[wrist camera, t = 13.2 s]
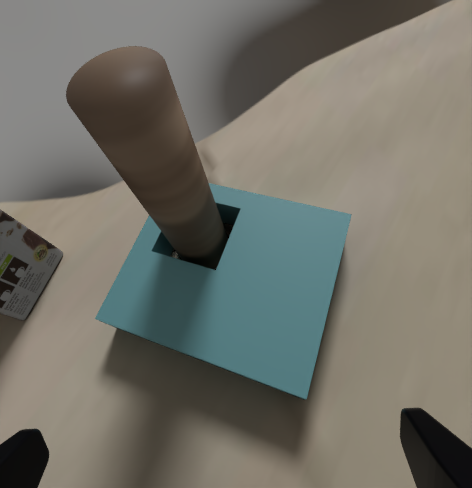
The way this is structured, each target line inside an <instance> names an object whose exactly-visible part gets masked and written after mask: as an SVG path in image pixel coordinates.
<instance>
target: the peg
mask: <svg viewBox="0 0 472 488" xmlns="http://www.w3.org/2000/svg"><path fill="white" fill-rule="evenodd" d="M66 97H67V102H68V104H69V106H70V107H71V109H72V110H73V111H74V113H75V114H76V115H77V117H78V118H79V120H80V121H81V122H82V124H83V125H84V126H85V128H86V129H87V131H88V132H89V133H90V135H91V136H92V137H93V139H94V140H95V141H96V143H97V144H98V146H99V147H100V148H101V150H102V151H103V152H104V154H105V155H106V156H107V158H108V159H109V161H110V162H111V163H112V164H113V166H114V167H115V168H116V170H117V171H118V173H119V174H120V176H121V177H122V178H123V180H124V181H125V182H126V184H127V185H128V186H129V188H130V189H131V191H132V192H133V193H134V195H135V196H136V197H137V199H138V200H139V201H140V203H141V204H142V206H143V207H144V208H145V210H146V211H147V212H148V214H149V215H150V217H151V218H152V219H153V221H154V222H155V223H156V225H157V226H158V227H159V229H160V230H161V232H162V233H163V234H164V236H165V237H166V238H167V240H168V241H169V242H170V244H171V245H172V247H173V248H174V249H175V251H176V252H177V253H178V255H179V256H180V257H181V259H182V260H183V261H186V262H189V263H193V264H196V265H200V266H203V267H206V268H210V269H214V268H216V267H217V266H218V264H219V261H220V259H221V257H222V254H223V252H224V249H225V247H226V244H227V242H228V237H227V234H226V231H225V228H224V225H223V223H222V220H221V217H220V214H219V211H218V209H217V206H216V203H215V200H214V197H213V194H212V192H211V189H210V186H209V183H208V180H207V177H206V175H205V172H204V169H203V166H202V163H201V160H200V158H199V155H198V152H197V149H196V146H195V144H194V141H193V138H192V135H191V132H190V130H189V127H188V124H187V121H186V118H185V115H184V112H183V110H182V107H181V104H180V101H179V98H178V96H177V93H176V90H175V87H174V84H173V82H172V79H171V76H170V73H169V70H168V68H167V65H166V62H165V60H164V59H163V57H162V56H161V55H160V54H159V53H158V52H156V51H154V50H152V49H149V48H146V47H137V46H129V47H122V48H117V49H113V50H110V51H107V52H105V53H102V54H100V55H98V56H96V57H95V58H93V59H91V60H90V61H89V62H87V63H86V64H84V65H83V66H82V67H81V68H80V69H79V70H78V71H77V72H76V73H75V74H74V76H73V77H72V79H71V80H70V82H69V84H68V87H67V91H66Z"/></svg>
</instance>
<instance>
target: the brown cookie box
mask: <svg viewBox="0 0 472 488" xmlns="http://www.w3.org/2000/svg"><path fill="white" fill-rule="evenodd" d="M62 256H63V252H62V251H61V250H60V249H58V248H57V247H55V246H54V245H52V244H51V243H49V242H48V241H46V240H45V239H43V238H42V237H40V236H39V235H37V234H36V233H34V232H33V231H31V230H30V229H28V228H27V227H26V226H24V225H23V224H21V223H20V222H18V221H17V220H15V219H14V218H12V217H11V216H9V215H8V214H6V213H5V212H3V211H2V210H0V313H1V314H4V315H7V316H10V317H13V318H16V319H20V320H24V319H26V317H27V316H28V314H29V312H30V310H31V309H32V307H33V305H34V304H35V302H36V300H37V298H38V297H39V295H40V293H41V292H42V290H43V288H44V287H45V285H46V283H47V281H48V280H49V278H50V276H51V275H52V273H53V271H54V269H55V268H56V266H57V264H58V263H59V261H60V259H61V257H62Z"/></svg>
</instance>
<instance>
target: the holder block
mask: <svg viewBox="0 0 472 488" xmlns="http://www.w3.org/2000/svg"><path fill="white" fill-rule="evenodd" d="M209 186H210V189H211V192H212V194H213V197H214V200H215V203H216V206H217V209H218V211H219V214H220V217H221V220H222V222H223V223H227V224H230V225H234V227H233V229H232V232H231V234H230V237H229V239H228V242H227V244H226V247H225V249H224V252H223V254H222V257H221V259H220V261H219V264H218V266H217V269H216V270H213V269H210V268H206V267H203V266H200V265H196V264H193V263H189V262H186V261H183V260H179V259H176V258H173V257H170V256H171V254H172V252H173V250H174V248H173V247H172V245H171V244H170V242H169V241H168V240H167V238H166V237H165V236H164V234H163V233H162V232H161V230H160V229H159V227H158V226H157V225H156V223H155V222H154V221H153V219H152V218H151V217H150V215H149V217H148V219H147V221H146V222H145V224H144V226H143V228H142V230H141V232H140V234H139V236H138V238H137V240H136V242H135V243H134V245H133V247H132V249H131V251H130V253H129V255H128V257H127V259H126V261H125V262H124V264H123V266H122V268H121V270H120V272H119V274H118V276H117V278H116V280H115V281H114V283H113V285H112V287H111V289H110V291H109V293H108V295H107V297H106V299H105V301H104V302H103V304H102V306H101V308H100V310H99V312H98V314H97V316H96V318H95V319H97V320H99V321H101V322H104V323H106V324H109V325H111V326H113V327H116V328H118V329H121V330H123V331H126V332H129V333H131V334H134V335H136V336H139V337H142V338H144V339H147V340H149V341H152V342H155V343H157V344H160V345H163V346H165V347H168V348H170V349H173V350H176V351H178V352H181V353H183V354H186V355H189V356H191V357H194V358H197V359H199V360H202V361H204V362H207V363H210V364H212V365H215V366H217V367H220V368H223V369H225V370H228V371H231V372H233V373H236V374H238V375H241V376H244V377H246V378H249V379H251V380H254V381H257V382H259V383H262V384H265V385H267V386H270V387H272V388H275V389H278V390H280V391H283V392H285V393H288V394H291V395H293V396H296V397H299V398H301V399H307V396H308V392H309V387H310V383H311V379H312V375H313V371H314V367H315V363H316V359H317V354H318V350H319V346H320V342H321V338H322V334H323V330H324V326H325V322H326V317H327V313H328V309H329V305H330V301H331V297H332V293H333V289H334V284H335V280H336V276H337V272H338V268H339V264H340V260H341V256H342V252H343V247H344V243H345V239H346V235H347V231H348V227H349V223H350V219H351V215H352V214H347V213H343V212H338V211H334V210H329V209H324V208H320V207H315V206H311V205H306V204H302V203H297V202H292V201H288V200H283V199H279V198H274V197H269V196H265V195H260V194H256V193H251V192H247V191H242V190H237V189H233V188H228V187H224V186H219V185H215V184H210V183H209Z"/></svg>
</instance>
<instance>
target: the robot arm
mask: <svg viewBox="0 0 472 488" xmlns="http://www.w3.org/2000/svg"><path fill="white" fill-rule="evenodd" d="M400 439H401V444H402V447H403V450H404V453H405V456H406V458H407V461H408V464H409V467H410V470H411V472H412V475H413V478H414V481H415V484H416V486H417V488H472V448H470V447H469V446H468V445H467V444H465V443H464V442H463V441H462V440H461V439H459V438H458V437H457V436H456V435H454V434H453V433H452V432H451V431H449V430H448V429H447V428H446V427H444V426H443V425H442V424H441V423H439V422H438V421H437V420H436V419H434V418H433V417H432V416H431V415H429V414H428V413H427V412H426V411H424V410H423V409H421V408H404V409H402V411H401V421H400ZM48 459H49V450H48V448H47V445H46V443H45V441H44V439H43V436H42V434H41V432H40V431H39V430H38V429H24V430H21V431H19V432H17V433H16V434H14V435H13V436H12V437H10V438H9V439H8V440H6V441H5V442H3V443H2V444H1V445H0V488H38V485H39V483H40V480H41V478H42V475H43V473H44V470H45V468H46V466H47V463H48Z"/></svg>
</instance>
